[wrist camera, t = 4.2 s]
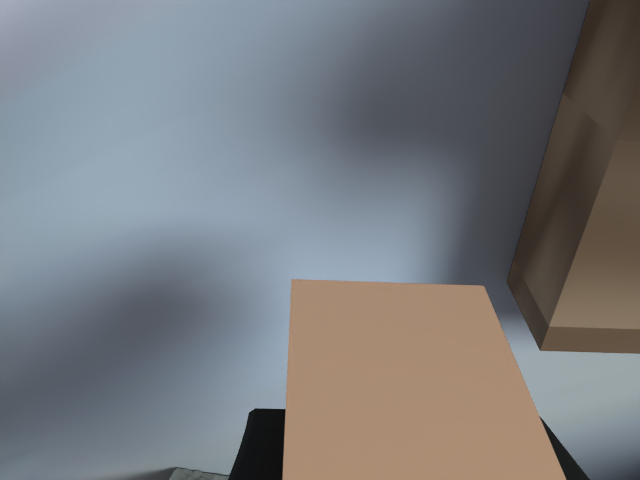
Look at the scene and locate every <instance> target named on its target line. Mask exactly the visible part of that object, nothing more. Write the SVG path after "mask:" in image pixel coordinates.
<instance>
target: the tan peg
mask: <svg viewBox="0 0 640 480" xmlns="http://www.w3.org/2000/svg"><path fill="white" fill-rule="evenodd" d="M282 480H566V478H565V475H564V473H563V471H562V468H561V466H560V464H559V461H558V459H557V457H556V454H555V452H554V450H553V447H552V445H551V442H550V440H549V438H548V435H547V433H546V431H545V428H544V426H543V424H542V421H541V419H540V417H539V414H538V412H537V409H536V407H535V405H534V402H533V400H532V398H531V395H530V393H529V391H528V388H527V386H526V384H525V381H524V379H523V377H522V374H521V372H520V369H519V367H518V365H517V362H516V360H515V358H514V355H513V353H512V351H511V348H510V346H509V344H508V341H507V339H506V336H505V334H504V332H503V329H502V327H501V325H500V322H499V320H498V318H497V315H496V313H495V311H494V308H493V306H492V303H491V301H490V299H489V296H488V294H487V292H486V289H485V287H484V286H479V285H449V284H419V283H389V282H359V281H328V280H298V279H292V283H291V305H290V326H289V348H288V370H287V392H286V413H285V435H284V457H283V479H282Z"/></svg>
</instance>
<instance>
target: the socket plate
mask: <svg viewBox="0 0 640 480" xmlns="http://www.w3.org/2000/svg"><path fill="white" fill-rule="evenodd" d="M507 284H508V286H509V288H510V290H511V292H512V294H513V296H514V298H515V300H516V302H517V304H518V306H519V308H520V310H521V312H522V314H523V316H524V319H525V321H526V323H527V325H528V327H529V329H530V331H531V333H532V335H533V337H534V339H535V341H536V343H537V345H538V347H539V349H540V351H569V352H603V353H638V354H640V0H590V3H589V7H588V10H587V13H586V17H585V20H584V24H583V27H582V30H581V34H580V37H579V40H578V44H577V47H576V51H575V54H574V57H573V61H572V64H571V67H570V71H569V74H568V78H567V81H566V84H565V88H564V91H563V94H562V98H561V101H560V104H559V108H558V111H557V115H556V118H555V121H554V125H553V128H552V131H551V135H550V138H549V142H548V145H547V148H546V152H545V155H544V158H543V162H542V165H541V169H540V172H539V175H538V179H537V182H536V185H535V189H534V192H533V196H532V199H531V202H530V206H529V209H528V212H527V216H526V219H525V223H524V226H523V229H522V233H521V236H520V239H519V243H518V246H517V249H516V253H515V256H514V260H513V263H512V266H511V270H510V273H509V276H508V280H507Z"/></svg>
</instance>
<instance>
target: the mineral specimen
mask: <svg viewBox="0 0 640 480" xmlns="http://www.w3.org/2000/svg"><path fill="white" fill-rule="evenodd" d="M228 478H229V476H224V475H217V474H211V473H202V472H200V471H197V470H194V471H191V470H189V469H180V468H176V469H175V470H174V471H173V472H172V474H171V476H170V478H169V480H228Z"/></svg>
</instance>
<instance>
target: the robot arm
mask: <svg viewBox="0 0 640 480" xmlns="http://www.w3.org/2000/svg"><path fill="white" fill-rule="evenodd" d="M285 413H286V409H254V410H252V411H251V412H249V416H248V421H247V425H246V429H245V432H244V436H243V439H242V442H241V445H240V449H239V451H238V454H237V457H236V460H235V463H234V465H233V468H232V470H231V473H230V476H229V478H228V480H282V479H283V457H284V435H285ZM539 417H540V416H539ZM540 419H541V421H542V424H543V426H544V428H545V431H546V433H547V435H548V438H549V440H550V442H551V445H552V447H553V450H554V452H555V454H556V457H557V459H558V461H559V464H560V466H561V468H562V471H563V473H564V475H565V478H566V480H590V479H589V478H588V477H587V475H586V474H585V473H584V472H583V470H582V469H581V468H580V467H579V465H578V464H577V463H576V462H575V460H574V459H573V458H572V456H571V455H570V454H569V453H568V451H567V450H566V449H565V448H564V446H563V445H562V444H561V442H560V441H559V440H558V439H557V437H556V436H555V435H554V434H553V432H552V431H551V430H550V428H549V427H548V426H547V425H546V423H545V422H544V421H543V420H542V418H541V417H540Z"/></svg>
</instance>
